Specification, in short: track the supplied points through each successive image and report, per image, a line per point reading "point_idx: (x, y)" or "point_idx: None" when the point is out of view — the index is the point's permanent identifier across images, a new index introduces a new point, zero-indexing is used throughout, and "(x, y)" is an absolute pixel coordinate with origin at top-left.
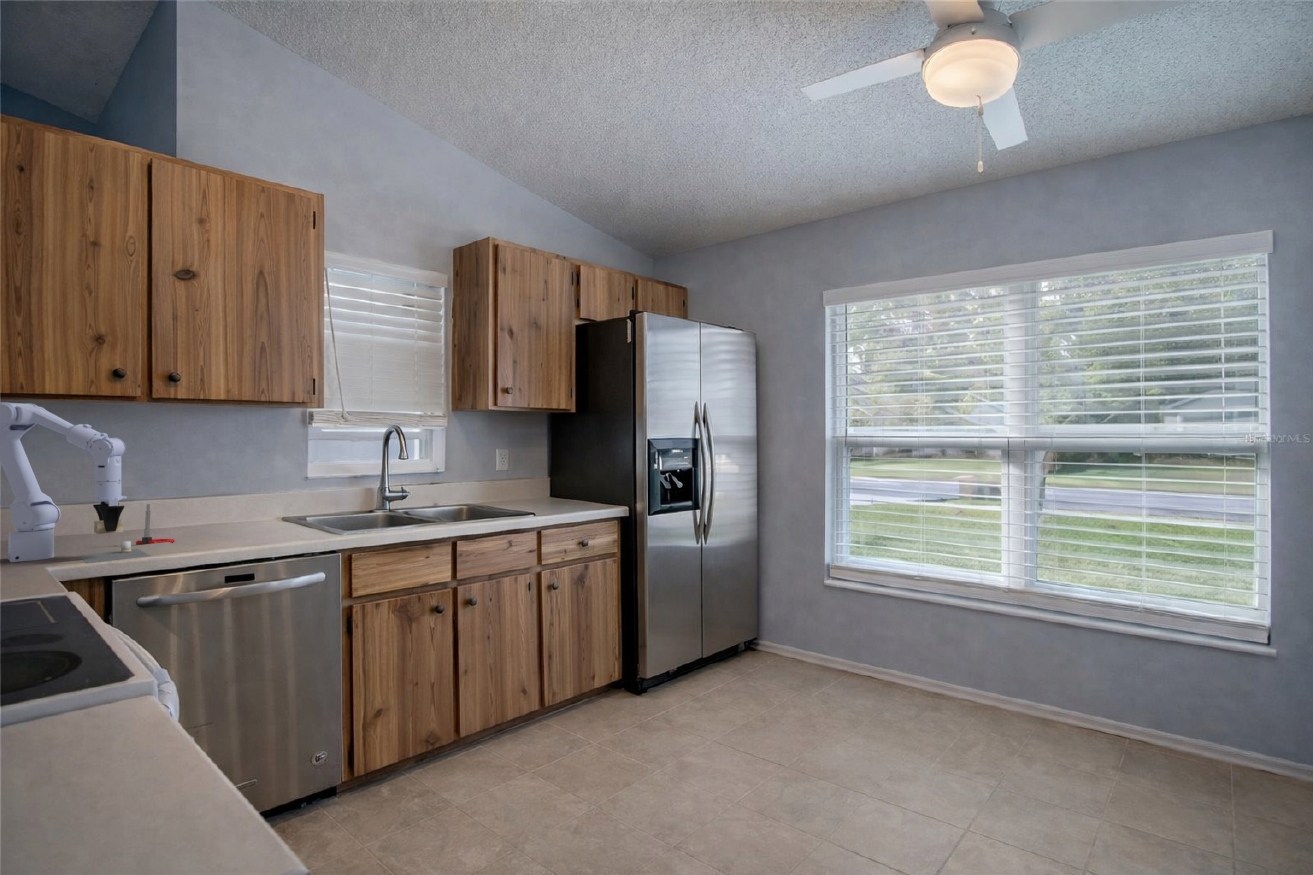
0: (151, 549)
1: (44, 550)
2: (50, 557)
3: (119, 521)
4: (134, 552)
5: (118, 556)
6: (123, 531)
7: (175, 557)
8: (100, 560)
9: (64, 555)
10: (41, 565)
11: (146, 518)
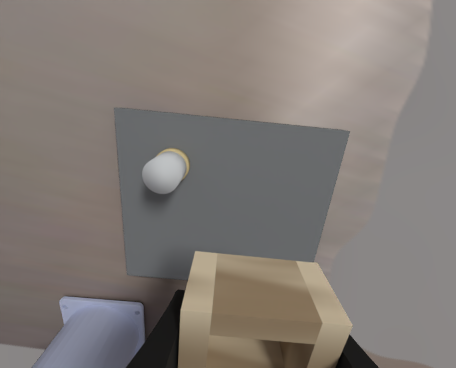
0: (74, 39)
1: (124, 355)
2: (125, 320)
3: (344, 343)
4: (208, 146)
5: (258, 208)
6: (317, 264)
7: (387, 46)
8: (293, 260)
9: (35, 270)
10: None
11: None
